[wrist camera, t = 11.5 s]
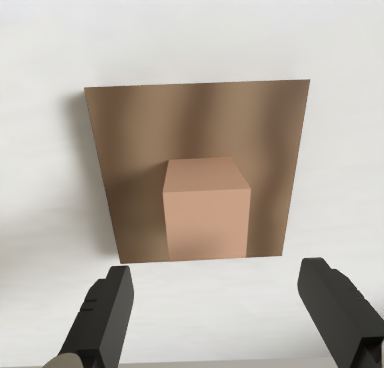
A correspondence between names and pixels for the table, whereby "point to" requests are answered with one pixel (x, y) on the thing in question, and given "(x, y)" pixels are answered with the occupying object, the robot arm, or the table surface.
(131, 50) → the table surface
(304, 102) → the walnut base
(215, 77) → the table surface
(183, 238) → the stacking block
